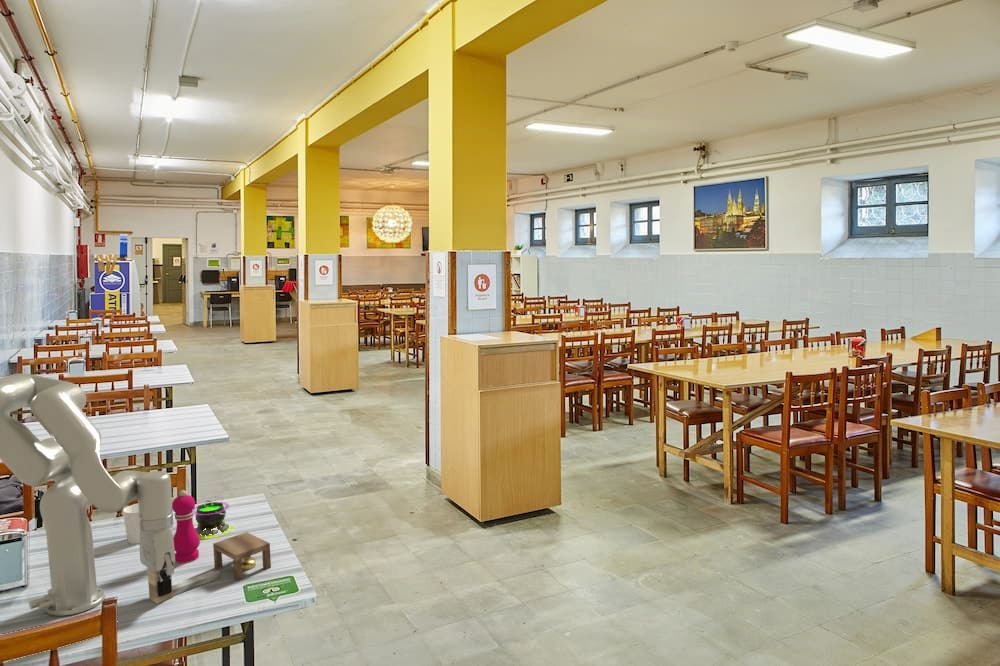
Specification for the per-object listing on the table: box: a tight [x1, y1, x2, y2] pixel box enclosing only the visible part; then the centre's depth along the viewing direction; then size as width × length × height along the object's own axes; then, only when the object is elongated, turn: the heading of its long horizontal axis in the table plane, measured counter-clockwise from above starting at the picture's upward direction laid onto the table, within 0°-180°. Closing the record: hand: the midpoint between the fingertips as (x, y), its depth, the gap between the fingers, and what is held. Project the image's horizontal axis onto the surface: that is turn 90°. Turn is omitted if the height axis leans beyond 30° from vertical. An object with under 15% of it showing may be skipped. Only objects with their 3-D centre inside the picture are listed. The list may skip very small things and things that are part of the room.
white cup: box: [122, 503, 140, 545], centre depth 211 cm, size 8×8×10 cm
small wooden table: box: [212, 531, 272, 581], centre depth 192 cm, size 10×12×7 cm
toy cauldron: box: [193, 493, 234, 540], centre depth 218 cm, size 15×15×11 cm
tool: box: [147, 565, 221, 604], centre depth 180 cm, size 17×4×9 cm, turn 139°
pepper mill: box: [172, 489, 201, 564], centre depth 197 cm, size 7×7×20 cm
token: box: [241, 556, 257, 572], centre depth 193 cm, size 5×5×2 cm
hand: (160, 590), depth 175 cm, fingers closed on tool, 4 cm apart
